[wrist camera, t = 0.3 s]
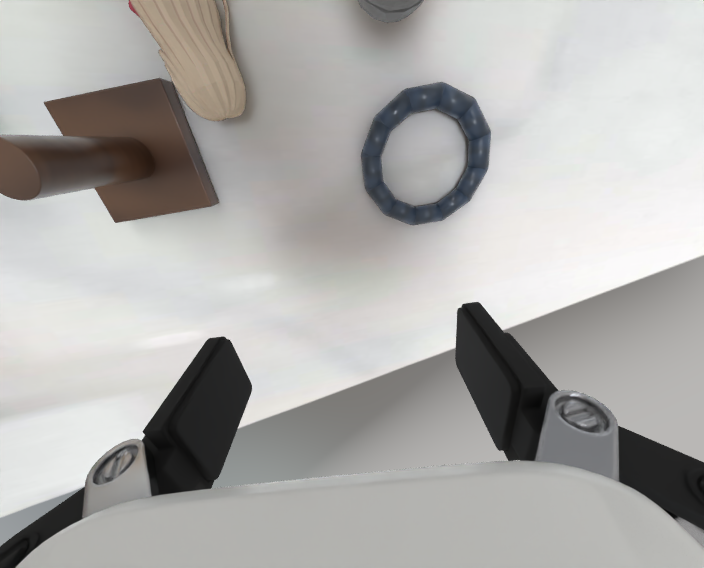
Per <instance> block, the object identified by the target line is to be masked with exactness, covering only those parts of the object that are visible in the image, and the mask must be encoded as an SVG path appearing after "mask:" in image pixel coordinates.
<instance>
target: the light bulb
mask: <svg viewBox="0 0 704 568" xmlns="http://www.w3.org/2000/svg"><path fill="white" fill-rule="evenodd" d="M423 1H424V0H358V2H359V4H360V6H361V8H362V9H364V10H365V11H366V12H367V13H368V14H369V15H370V16H371V17H372V18H373V19H376V20H380V21H383V22H387V23H388V22H397V21H399V20H401V19H403V18H405V17H407V16H409V15H410V14H411V13H412V12H413V11H414V10H416V9H417V8H418V7H419V6H420V5H421V3H422V2H423Z"/></svg>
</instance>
